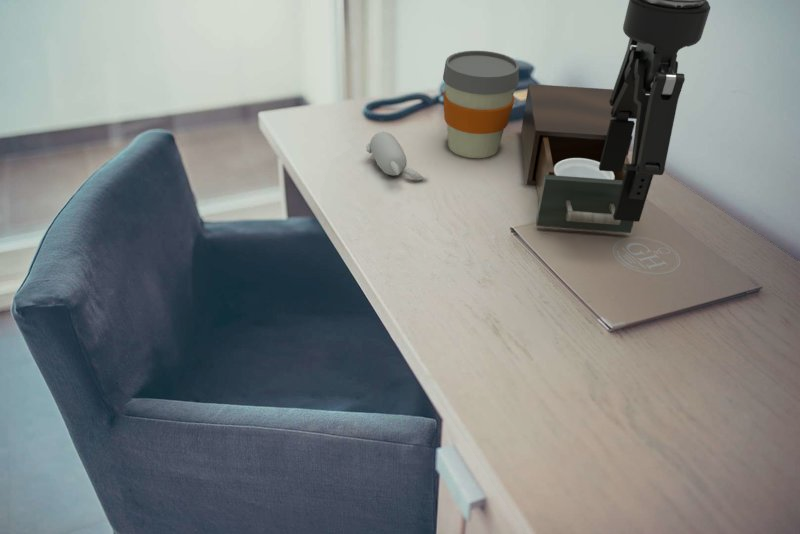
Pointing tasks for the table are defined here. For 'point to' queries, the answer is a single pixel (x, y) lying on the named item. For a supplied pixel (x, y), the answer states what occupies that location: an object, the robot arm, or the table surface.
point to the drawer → (576, 188)
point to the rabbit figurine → (390, 155)
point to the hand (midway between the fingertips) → (617, 193)
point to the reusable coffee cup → (478, 100)
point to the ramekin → (581, 169)
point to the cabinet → (562, 117)
